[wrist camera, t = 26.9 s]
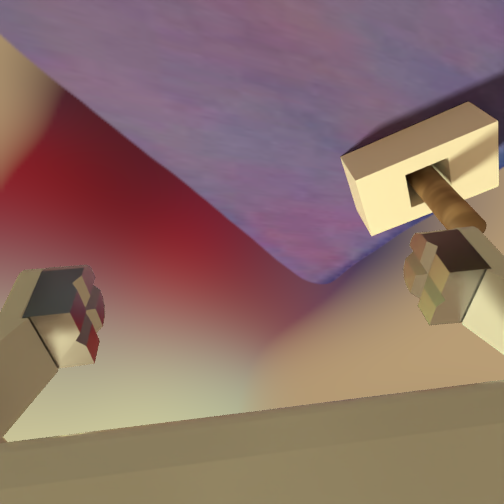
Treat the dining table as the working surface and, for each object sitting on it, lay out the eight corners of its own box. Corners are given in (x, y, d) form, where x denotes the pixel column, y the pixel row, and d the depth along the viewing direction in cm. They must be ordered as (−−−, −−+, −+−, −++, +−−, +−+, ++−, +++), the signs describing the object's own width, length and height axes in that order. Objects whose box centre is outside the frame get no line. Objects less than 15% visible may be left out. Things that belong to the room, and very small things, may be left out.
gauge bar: (340, 156, 50) (355, 180, 46) (468, 101, 48) (497, 120, 43) (356, 210, 56) (371, 236, 51) (472, 163, 53) (498, 186, 49)
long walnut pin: (405, 147, 51) (468, 215, 39) (425, 154, 52) (493, 222, 40) (391, 169, 52) (448, 239, 41) (411, 175, 53) (471, 246, 42)
